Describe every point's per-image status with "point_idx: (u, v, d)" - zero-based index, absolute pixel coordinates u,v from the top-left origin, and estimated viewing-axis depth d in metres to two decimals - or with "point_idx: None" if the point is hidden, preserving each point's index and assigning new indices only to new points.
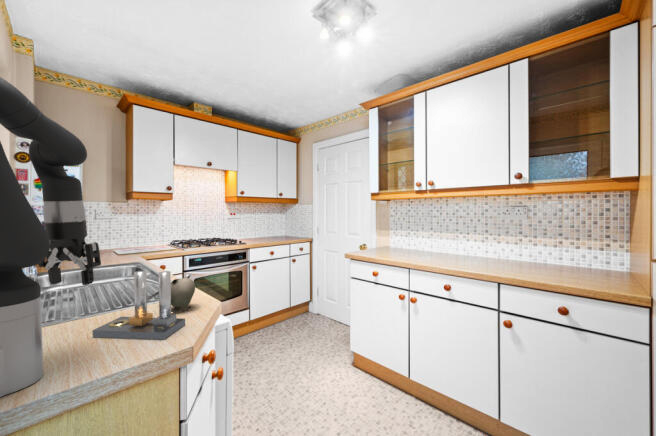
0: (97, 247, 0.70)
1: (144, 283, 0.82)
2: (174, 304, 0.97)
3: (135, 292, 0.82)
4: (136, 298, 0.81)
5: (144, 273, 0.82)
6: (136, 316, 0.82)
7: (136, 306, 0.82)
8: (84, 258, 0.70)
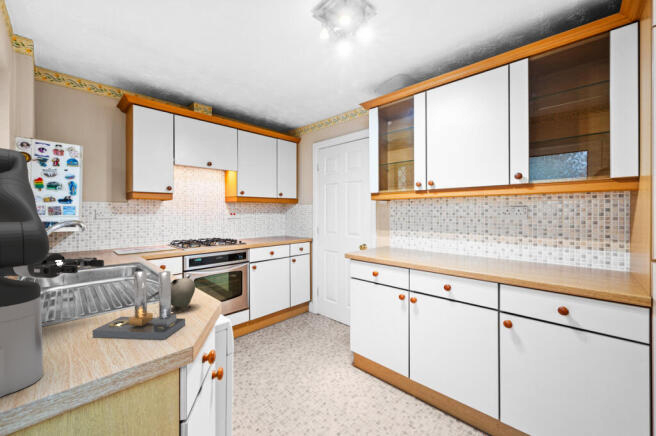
0: None
1: (144, 283, 0.82)
2: (174, 304, 0.97)
3: (135, 292, 0.82)
4: (136, 298, 0.81)
5: (144, 273, 0.82)
6: (136, 316, 0.82)
7: (136, 306, 0.82)
8: None
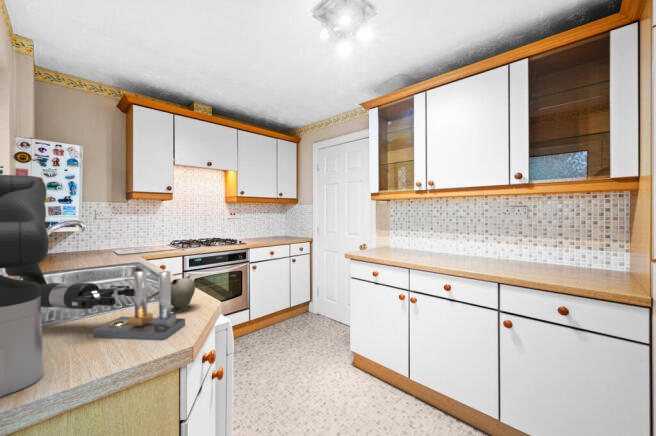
0: None
1: (144, 283, 0.82)
2: (174, 304, 0.97)
3: (135, 292, 0.82)
4: (136, 298, 0.81)
5: (144, 273, 0.82)
6: (136, 316, 0.82)
7: (136, 306, 0.82)
8: None
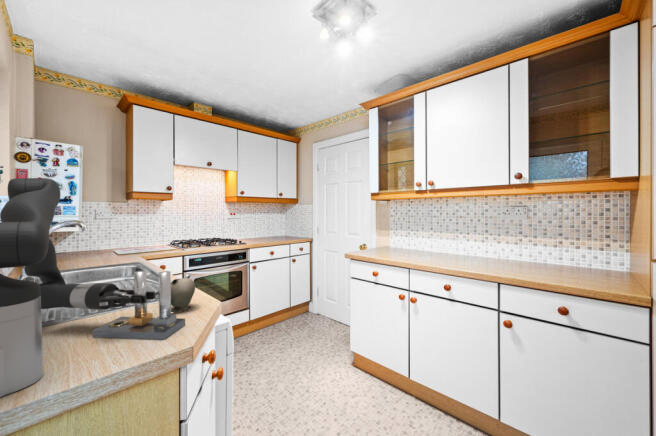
0: None
1: (144, 283, 0.82)
2: (174, 304, 0.97)
3: (135, 292, 0.82)
4: None
5: (144, 273, 0.82)
6: (136, 316, 0.82)
7: (136, 306, 0.82)
8: None
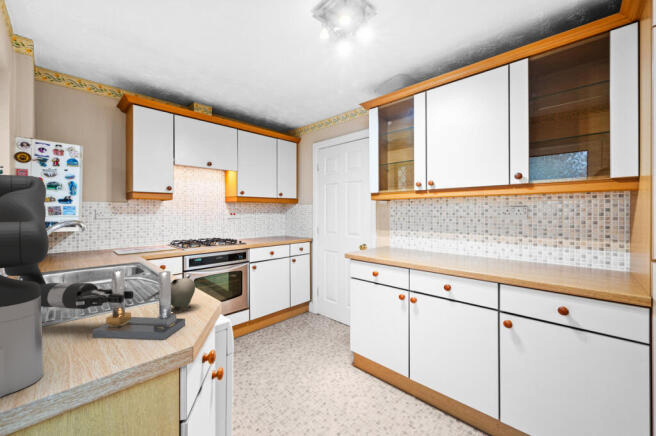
0: None
1: (122, 283, 0.83)
2: (174, 304, 0.97)
3: (112, 291, 0.82)
4: None
5: (122, 273, 0.83)
6: (114, 315, 0.82)
7: (114, 305, 0.82)
8: None
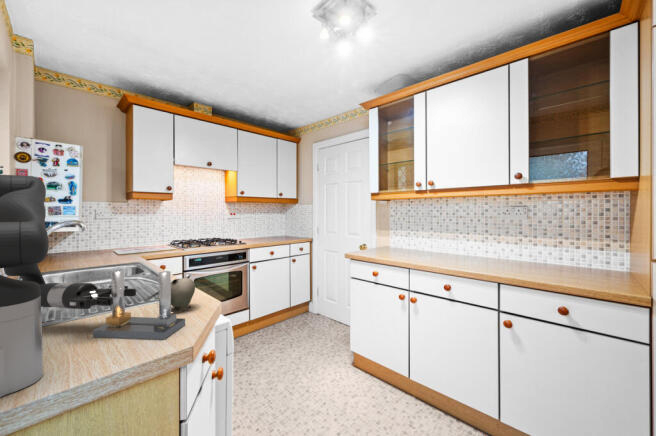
0: None
1: (121, 283, 0.83)
2: (174, 304, 0.97)
3: (112, 291, 0.82)
4: (113, 297, 0.82)
5: (121, 273, 0.83)
6: (113, 315, 0.82)
7: (113, 305, 0.82)
8: None
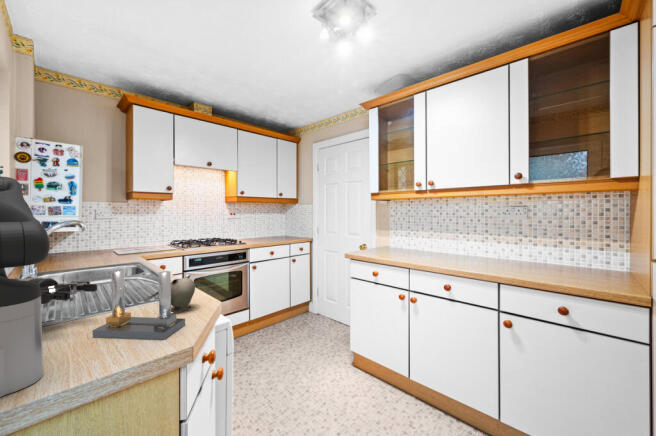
0: None
1: (121, 283, 0.83)
2: (174, 304, 0.97)
3: (112, 291, 0.82)
4: (113, 297, 0.82)
5: (121, 273, 0.83)
6: (113, 315, 0.82)
7: (113, 305, 0.82)
8: None
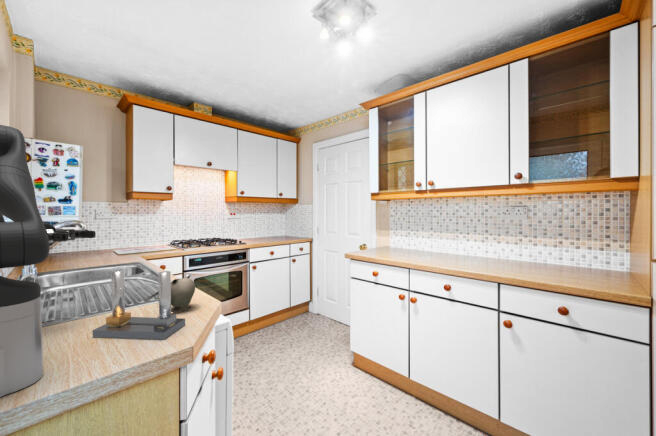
0: None
1: (121, 283, 0.83)
2: (174, 304, 0.97)
3: (112, 291, 0.82)
4: (113, 297, 0.82)
5: (121, 273, 0.83)
6: (113, 315, 0.82)
7: (113, 305, 0.82)
8: None
